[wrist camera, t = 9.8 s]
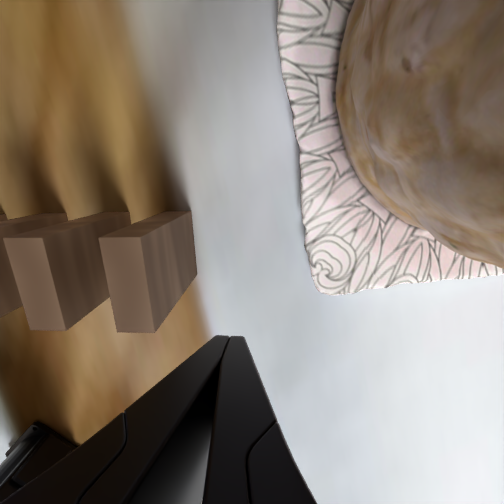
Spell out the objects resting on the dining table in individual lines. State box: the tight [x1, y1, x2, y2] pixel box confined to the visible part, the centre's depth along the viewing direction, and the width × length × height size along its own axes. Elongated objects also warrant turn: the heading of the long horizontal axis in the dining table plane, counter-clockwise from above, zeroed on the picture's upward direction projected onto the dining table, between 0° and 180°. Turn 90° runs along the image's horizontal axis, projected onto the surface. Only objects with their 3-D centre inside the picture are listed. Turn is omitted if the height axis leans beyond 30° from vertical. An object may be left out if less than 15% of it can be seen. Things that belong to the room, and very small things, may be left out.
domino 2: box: [3, 212, 131, 331], centre depth 17 cm, size 2×5×8 cm, turn 1°
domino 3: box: [98, 211, 197, 333], centre depth 17 cm, size 2×5×8 cm, turn 1°
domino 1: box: [0, 213, 68, 317], centre depth 18 cm, size 2×5×8 cm, turn 2°
